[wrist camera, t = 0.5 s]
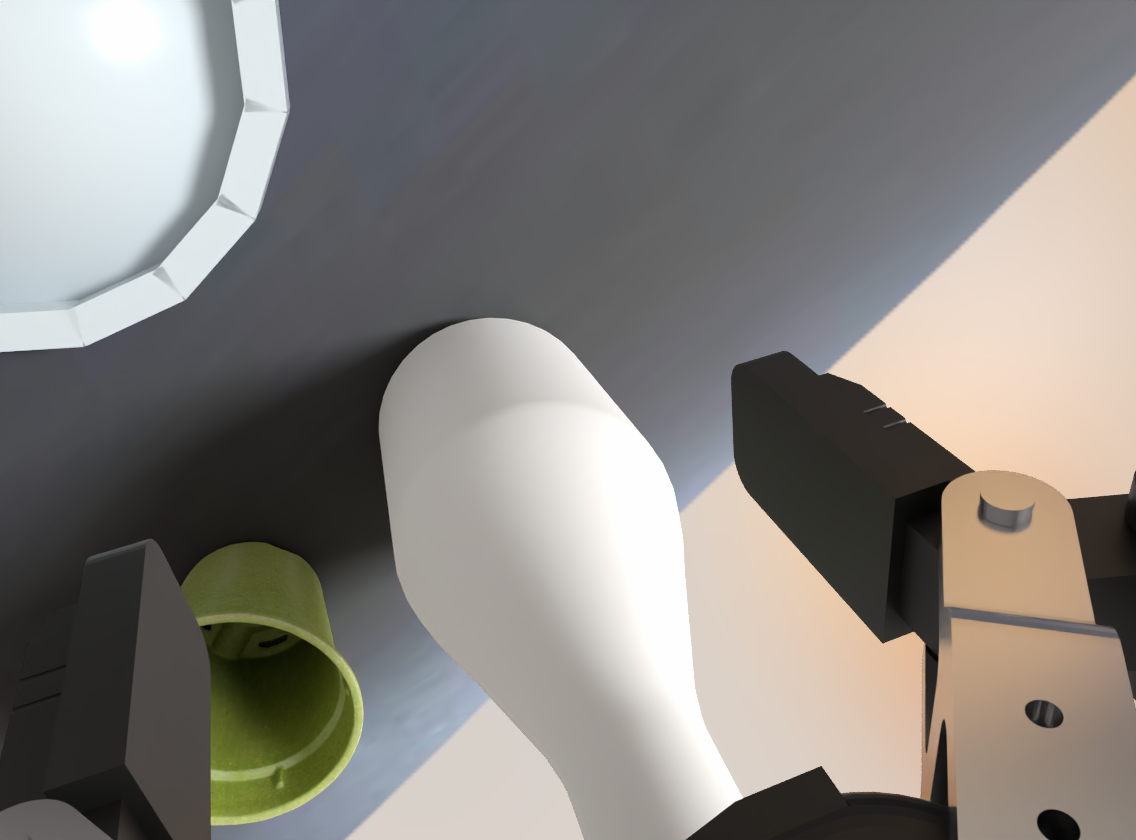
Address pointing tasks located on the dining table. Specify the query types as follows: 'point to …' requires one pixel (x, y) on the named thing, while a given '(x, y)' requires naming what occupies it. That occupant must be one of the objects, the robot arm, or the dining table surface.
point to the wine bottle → (552, 570)
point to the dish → (128, 155)
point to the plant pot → (271, 682)
